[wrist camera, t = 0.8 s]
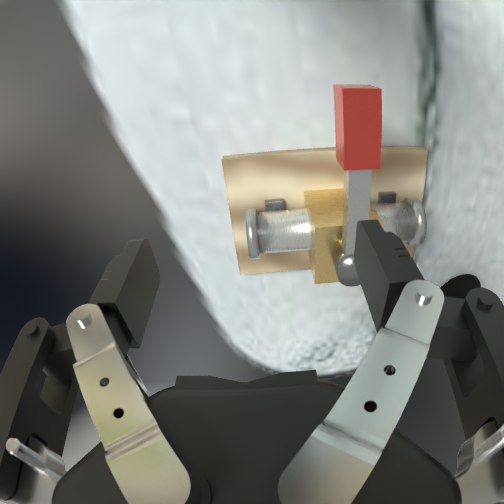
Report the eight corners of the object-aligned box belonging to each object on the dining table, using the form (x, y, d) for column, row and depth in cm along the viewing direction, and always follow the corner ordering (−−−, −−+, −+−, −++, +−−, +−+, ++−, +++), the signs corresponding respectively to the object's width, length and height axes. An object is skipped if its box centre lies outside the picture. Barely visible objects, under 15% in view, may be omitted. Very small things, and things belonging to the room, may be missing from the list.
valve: (245, 195, 35) (243, 233, 29) (409, 185, 34) (440, 219, 27) (252, 244, 39) (251, 289, 32) (403, 232, 37) (429, 271, 31)
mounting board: (223, 156, 34) (221, 160, 33) (422, 146, 33) (427, 150, 31) (240, 267, 43) (240, 274, 41) (408, 252, 41) (412, 258, 40)
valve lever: (363, 268, 30) (370, 285, 28) (331, 271, 31) (336, 289, 28) (371, 84, 21) (384, 89, 19) (330, 84, 21) (339, 88, 19)
